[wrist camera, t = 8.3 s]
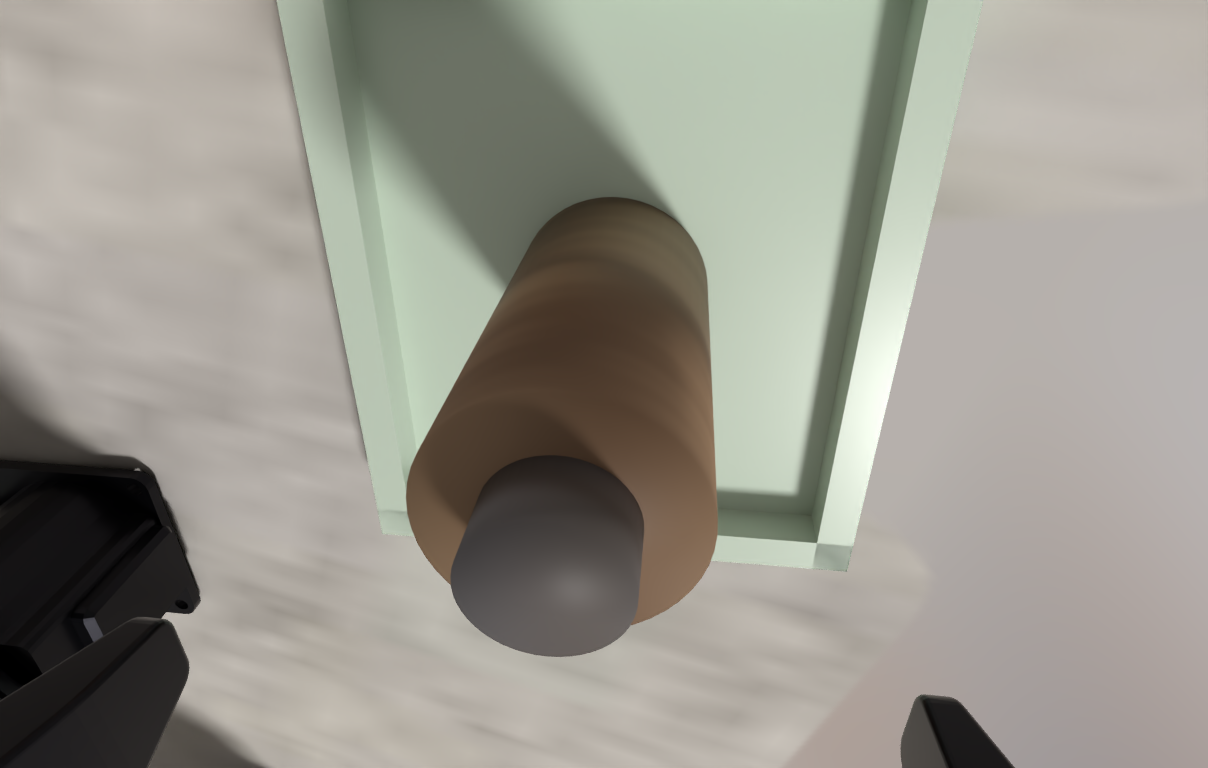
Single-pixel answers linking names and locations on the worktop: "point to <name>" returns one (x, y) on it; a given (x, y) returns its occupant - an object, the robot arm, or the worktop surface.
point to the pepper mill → (578, 438)
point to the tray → (654, 176)
